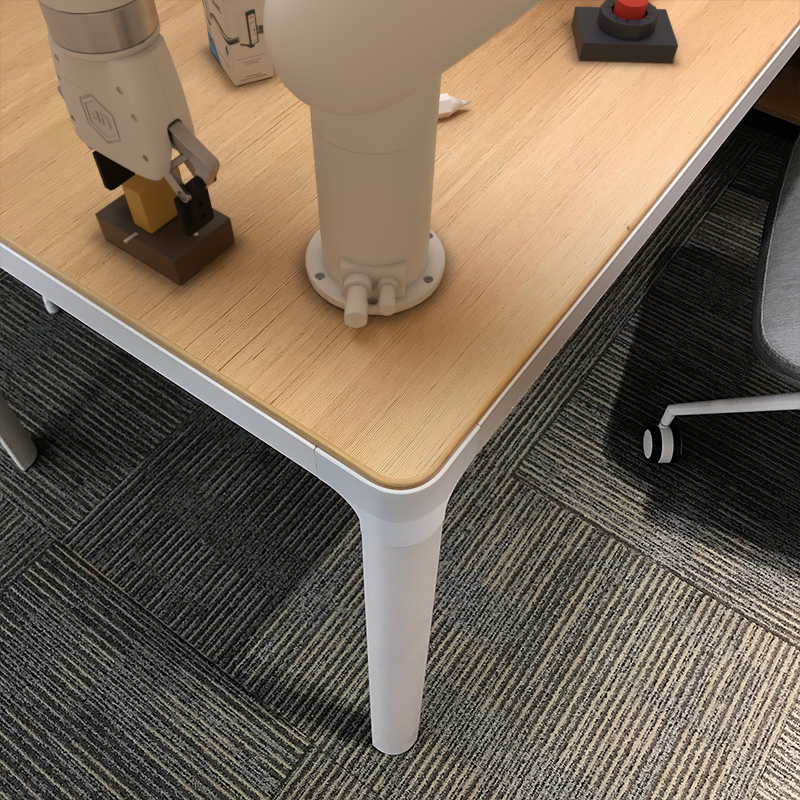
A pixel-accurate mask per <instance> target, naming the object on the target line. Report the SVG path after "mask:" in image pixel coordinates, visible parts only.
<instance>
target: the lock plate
mask: <svg viewBox="0 0 800 800" xmlns="http://www.w3.org/2000/svg"><path fill="white" fill-rule="evenodd" d="M212 209H213V213H214V218H213V220H212V221H210V222H209V223H208V224H207V225H205V226H204V227H203V228H201V229H200V230H199V231H197V232H196V233H195V234H194V235H192V236H191V237H188V236H186V235H185V234H183V231H182V228H181V224H180V221H179V217H178V215H177V216H175V217H174V218H173V219H171V220H170V221H169V222H167V223H166V224H165V225H163V226H162V227H161V228H159V229H158V230H157V231H155V232H154V233H152V234H151V233H149V232H148V231H146V230H144V229H143V228H141V227H139V226H138V225H136V224H135V223H134V220H133V217H132V214H131V211H130V208H129V205H128V202H127V199H126V197H125V194H124V193H123V194H121V195H120V196H118V197H116V198H115V199H114V200H113V201H111V202H110V203H108V204H107V205H105V206H104V207H102V208H101V209H100V210H98V211H97V212H95V213H94V215H95V218H96V220H97V223H98V225H99V227H100V231H101V233H102V236H103V238H104V239H105V240H106V241H108V242H109V243H111V244H113V245H114V246H116V247H118V248H119V249H120V250H123V251H124V252H125V253H127V254H129V255H130V256H132V257H134V258H135V259H137V260H138V261H140V262H141V263H143V264H145V265H146V266H148V267H150V268H151V269H153V270H155V272H158V273H159V274H161V275H163V276H164V277H166V278H168V279H169V280H171V281H172V282H174V283H176V284H177V285H178V286H181V287H182V286H183V285H184V284H186V283H187V282H188V281H189V280H191V279H192V278H193V277H194V276H196V275H197V274H198V273H199V272H201V270H204V268H205V267H207V266H208V265H209V264H210V263H211V262H213V261H215V259H217V258H218V257H219V256H220V255H221V254H223V253H224V252H225V251H226V250H228V249H230V247H232V246H233V245H234V244H235V243H236V239H235V235H234V228H233V224H232V220H231V217H230V216H228V215H226V214H224V213H223V212H221V211H219V210H217V209H216V208H213V207H212Z"/></svg>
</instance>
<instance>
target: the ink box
mask: <svg viewBox="0 0 800 800" xmlns="http://www.w3.org/2000/svg"><path fill="white" fill-rule="evenodd" d="M201 2H202V8H203V13H204V19H205V26H206V31H207V38H208V43H209V49H210V51H211V53H212V54H213V56H214V57H215V59H216V60H217V62H218V63H219V64H220V66H221V68H222V69H223V70H224V72H225V74H226V75H227V77H228V78H229V80H230V81H231V82H232V84H233V85H234V86H235V87H238V86H242V85H245V84H249V83H254V82H258V81H260V80H261V81H262V80H265V79H269V78H273V77H274V68H273V66H272V63H271V61H270V58H269V55H268V52H267V48H266V44H265V39H264V31H263V14H264V5H265V0H201Z"/></svg>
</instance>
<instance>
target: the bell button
mask: <svg viewBox="0 0 800 800" xmlns="http://www.w3.org/2000/svg"><path fill="white" fill-rule="evenodd" d="M648 2H650V1H649V0H616V2H615V6H614V10H613V13H614V14H615V15H616V16H618V17H620V18H623V19H627V20H639V19H642V18H644V15H645V12H646V8H647V5H648Z"/></svg>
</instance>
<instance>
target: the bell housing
mask: <svg viewBox="0 0 800 800" xmlns="http://www.w3.org/2000/svg"><path fill="white" fill-rule="evenodd" d="M615 2H616V0H604V1H603V3H601V4H600V6H579V5H578V6H575V7H574V12H573V14H572V19H571V27H572V33H573V37H574V42H575V47H576V53H577V57H578V61H584V62H585V61H587V62H588V61H589V62H590V61H591V62H618V63H619V62H621V63H623V62H624V63H653V64H673V62H674V60H675V57H676V54H677V50H678V47H679V43H678V41H677V40H678V39H677V38H676V34H675V31H674V28H673V25H672V23H671V20H670V18H669V17H670V16H669V14H668V11H667V9H666V8H657V7H656V5H654V4H652V3H651V2H650V1H648V5H647V8H646V12H645V15H644V18H642V19H639V20H627V19H623V18H620V17H618V16H616V15H615V14H614V13H613V10H614V6H615Z"/></svg>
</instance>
